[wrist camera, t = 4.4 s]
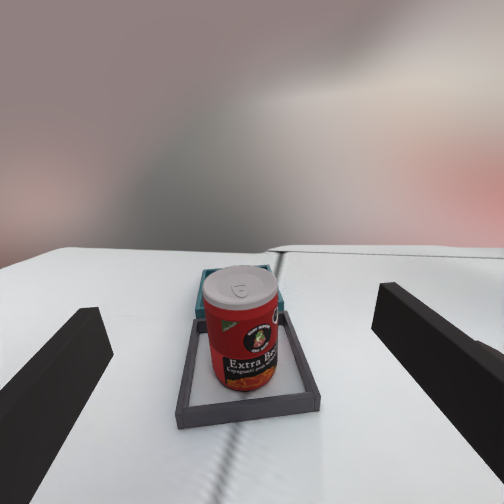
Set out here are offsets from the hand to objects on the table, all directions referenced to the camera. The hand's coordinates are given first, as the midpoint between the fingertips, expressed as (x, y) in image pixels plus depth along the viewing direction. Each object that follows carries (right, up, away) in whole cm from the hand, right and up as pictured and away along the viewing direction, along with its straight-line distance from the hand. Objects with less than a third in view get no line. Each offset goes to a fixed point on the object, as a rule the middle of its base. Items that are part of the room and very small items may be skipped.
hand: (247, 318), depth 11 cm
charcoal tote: (-1, -10, +17) cm, 19 cm away
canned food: (-1, -10, +17) cm, 20 cm away
